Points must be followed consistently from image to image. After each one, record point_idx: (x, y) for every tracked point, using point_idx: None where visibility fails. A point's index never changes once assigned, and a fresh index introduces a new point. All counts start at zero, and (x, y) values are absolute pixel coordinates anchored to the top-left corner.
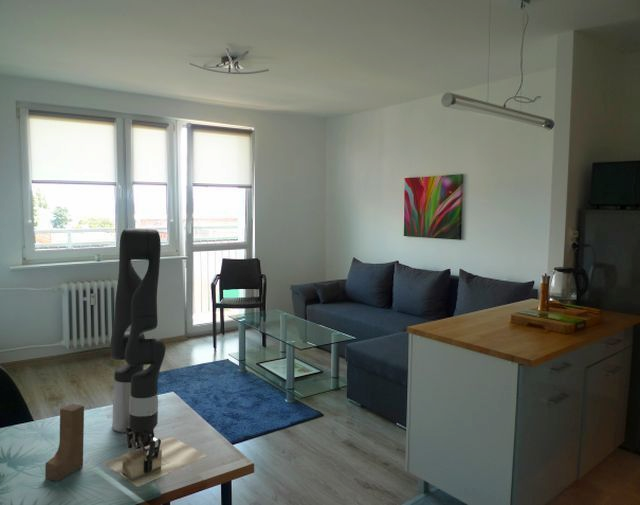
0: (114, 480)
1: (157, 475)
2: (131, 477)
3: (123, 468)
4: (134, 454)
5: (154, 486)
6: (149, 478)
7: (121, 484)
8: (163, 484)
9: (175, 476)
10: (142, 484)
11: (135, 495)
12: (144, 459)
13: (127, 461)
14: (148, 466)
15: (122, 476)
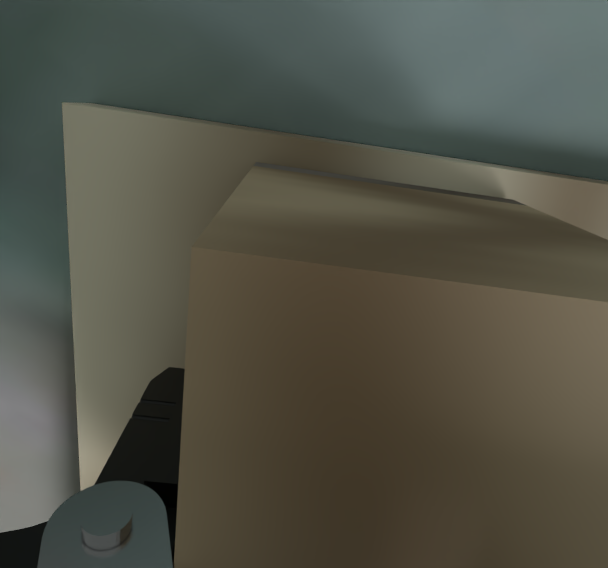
0: (542, 103)
1: (124, 412)
2: (272, 170)
3: (528, 215)
4: (476, 510)
5: (46, 288)
6: (135, 326)
7: (390, 92)
8: (14, 361)
9: (64, 499)
10: (72, 186)
11: (23, 20)
12: (126, 501)
13: (474, 251)
14: (129, 430)
15: (465, 162)
